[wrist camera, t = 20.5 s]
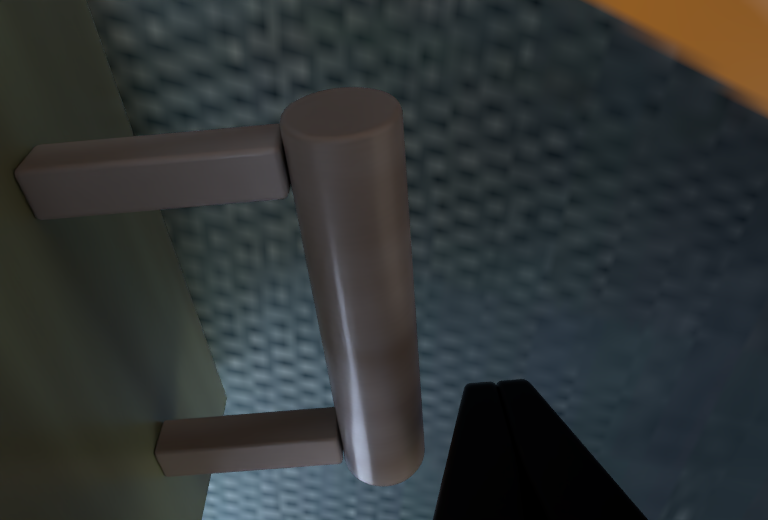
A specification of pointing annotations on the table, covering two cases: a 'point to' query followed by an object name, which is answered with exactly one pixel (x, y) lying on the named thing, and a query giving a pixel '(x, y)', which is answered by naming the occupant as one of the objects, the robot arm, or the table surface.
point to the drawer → (182, 287)
